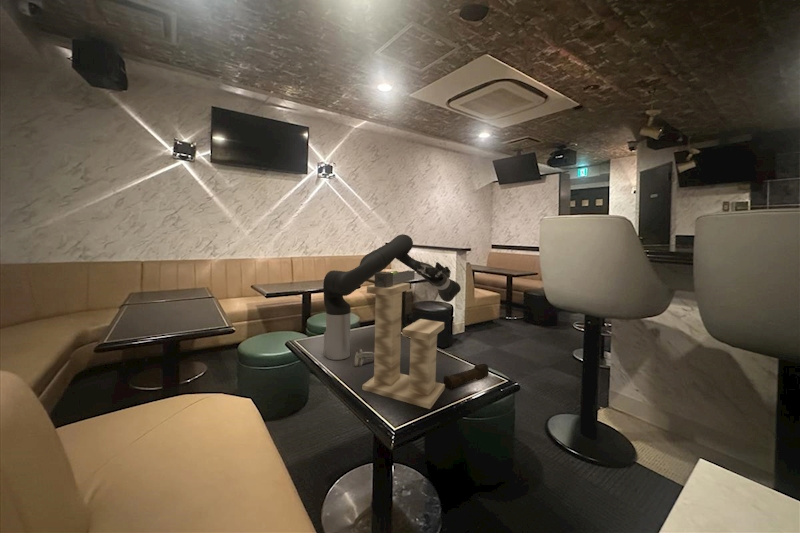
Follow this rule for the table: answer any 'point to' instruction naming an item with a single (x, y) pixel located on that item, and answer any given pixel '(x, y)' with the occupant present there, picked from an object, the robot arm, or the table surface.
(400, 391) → the stand
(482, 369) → the dark brown bar
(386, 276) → the spirit level
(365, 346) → the table surface
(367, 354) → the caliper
